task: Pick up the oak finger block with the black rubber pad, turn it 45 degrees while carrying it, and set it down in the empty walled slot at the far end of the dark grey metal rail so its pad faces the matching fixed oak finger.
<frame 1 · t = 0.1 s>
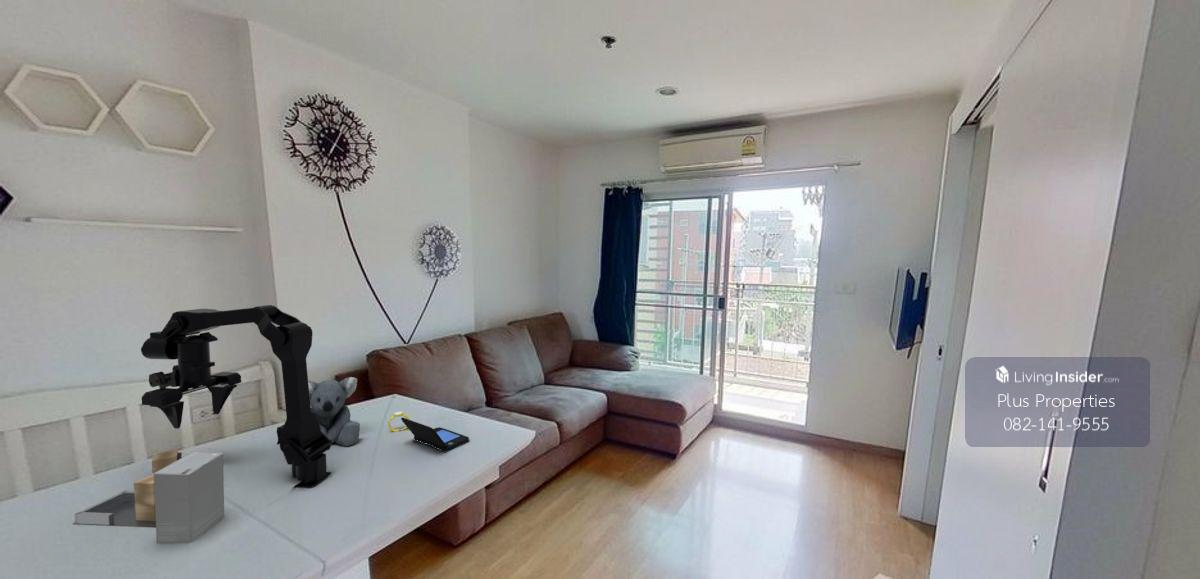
hand: (197, 420, 103), 15 cm above the table, tool pointing down, fingers open, 9 cm apart
game console: (436, 444, 125), on the table
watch: (399, 431, 134), on the table
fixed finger: (158, 513, 87), resting on rail
skincare box: (193, 538, 82), on the table
koala plush: (328, 440, 126), on the table
rail: (141, 519, 87), on the table
finger block: (167, 486, 99), on the table
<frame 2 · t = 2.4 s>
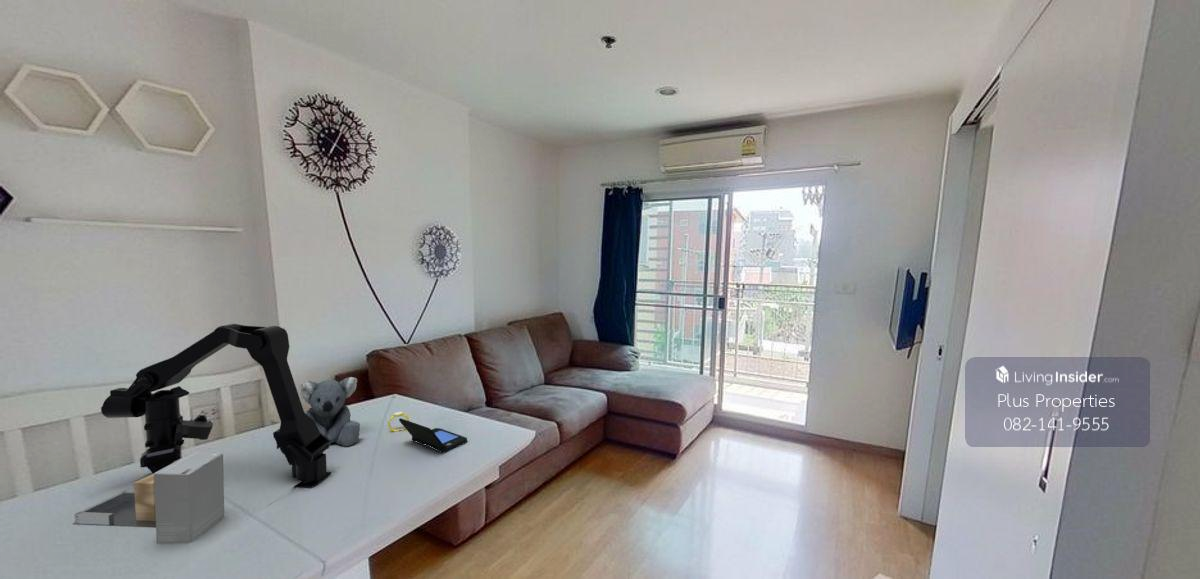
hand: (166, 478, 99), 2 cm above the table, tool pointing down, fingers closed on finger block, 5 cm apart
finger block: (167, 486, 99), on the table, touching gripper
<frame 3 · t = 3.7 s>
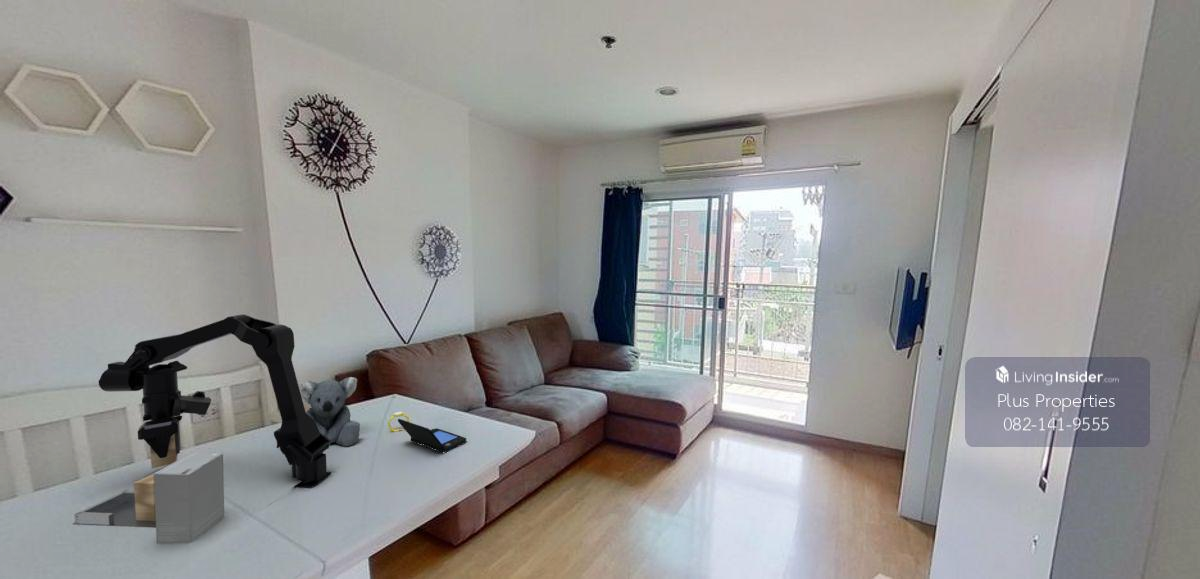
hand: (164, 453, 99), 8 cm above the table, tool pointing down, fingers closed on finger block, 5 cm apart
finger block: (165, 461, 99), point 6 cm above the table, touching gripper
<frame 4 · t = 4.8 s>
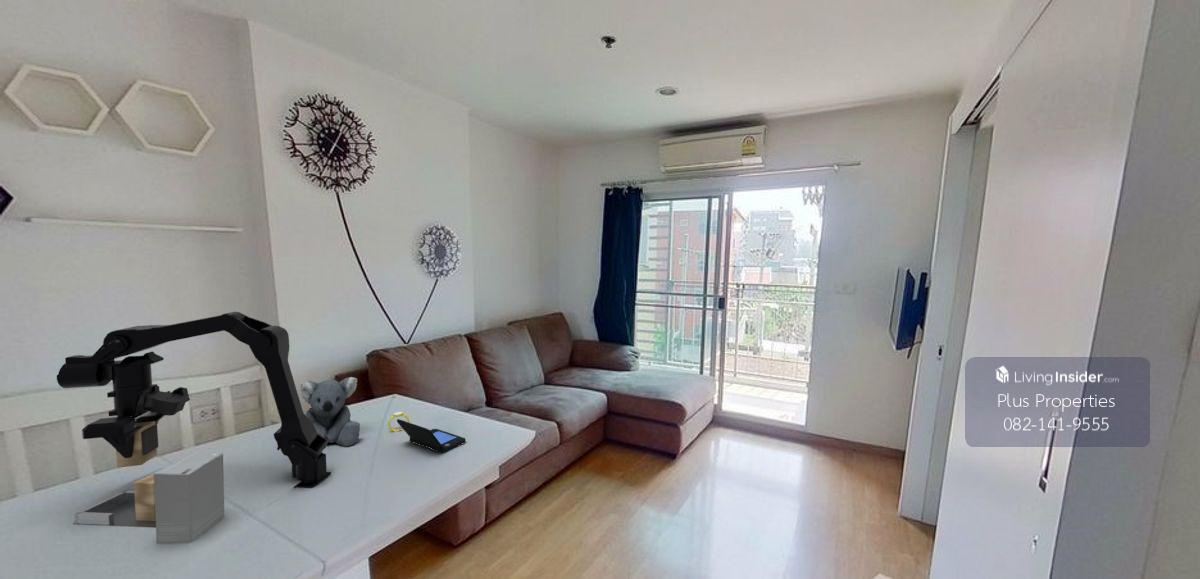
hand: (137, 452, 91), 12 cm above the table, tool pointing down, fingers closed on finger block, 5 cm apart
finger block: (137, 461, 92), point 10 cm above the table, touching gripper
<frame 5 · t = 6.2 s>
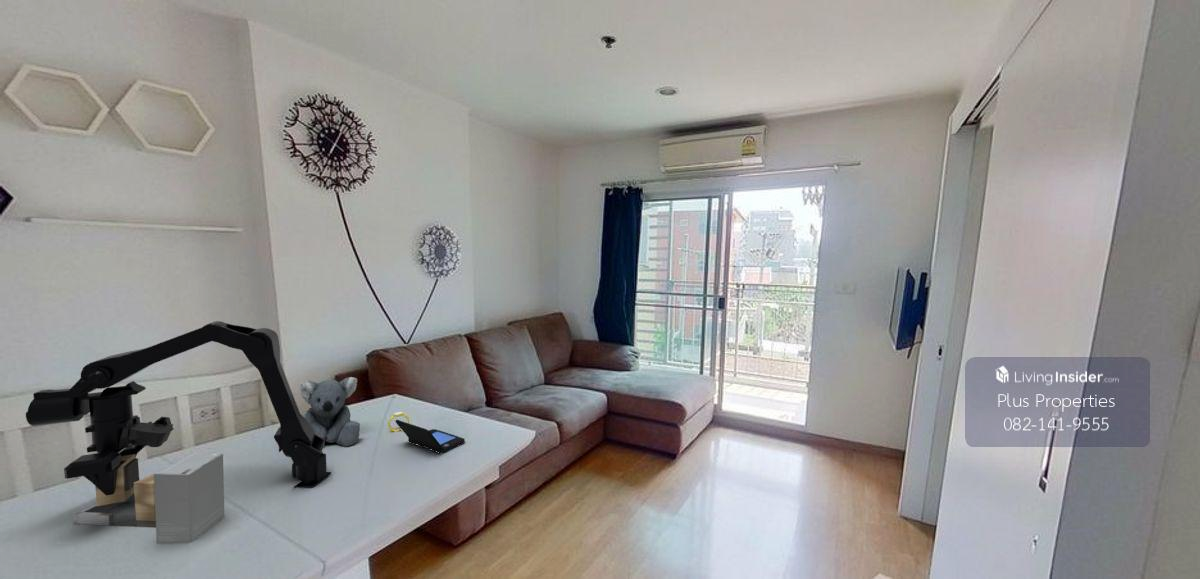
hand: (117, 488, 87), 7 cm above the table, tool pointing down, fingers closed on finger block, 5 cm apart
finger block: (117, 497, 87), point 5 cm above the table, touching gripper
when the fingers open (5 cm above the table, at t = 7.3 s): finger block drops 1 cm, resting on rail.
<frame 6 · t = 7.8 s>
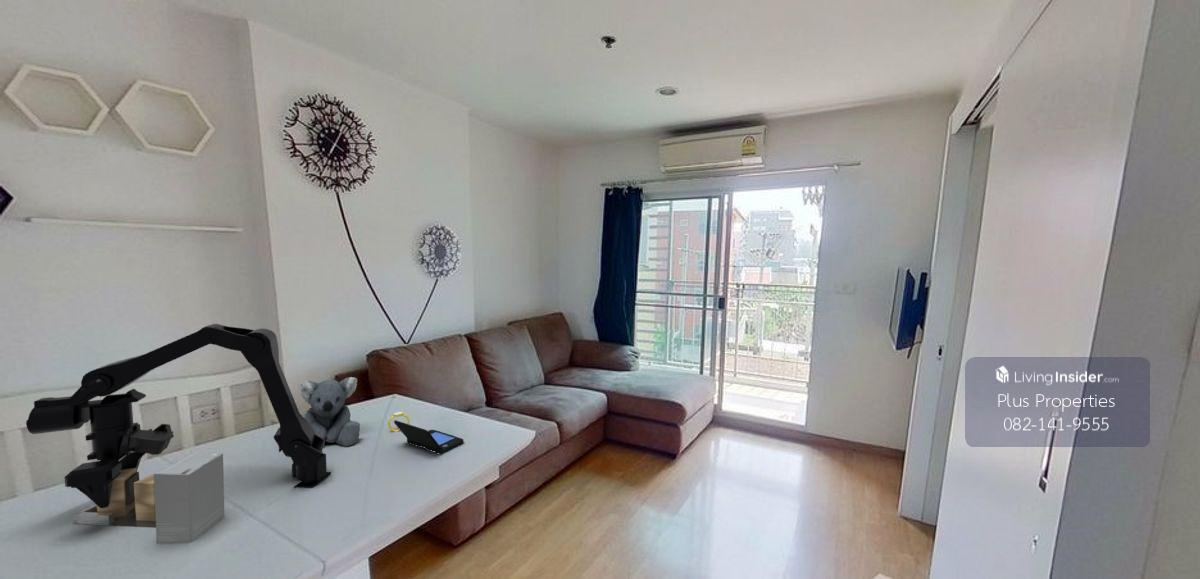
hand: (117, 495, 87), 5 cm above the table, tool pointing down, fingers open, 9 cm apart
finger block: (118, 511, 87), point 1 cm above the table, touching rail
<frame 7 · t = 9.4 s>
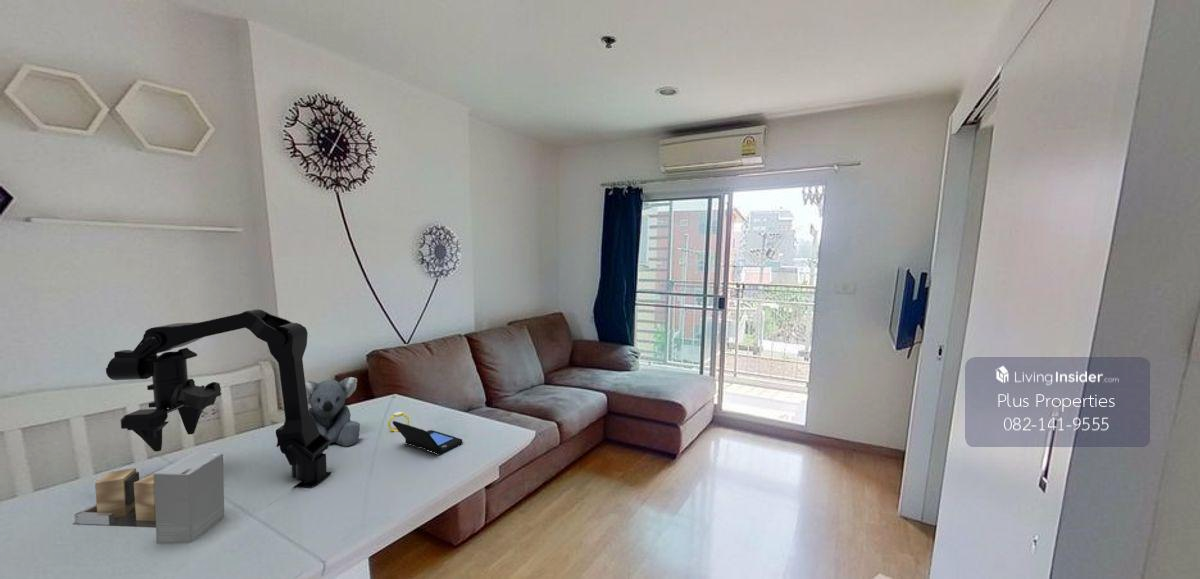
hand: (175, 442, 97), 12 cm above the table, tool pointing down, fingers open, 9 cm apart
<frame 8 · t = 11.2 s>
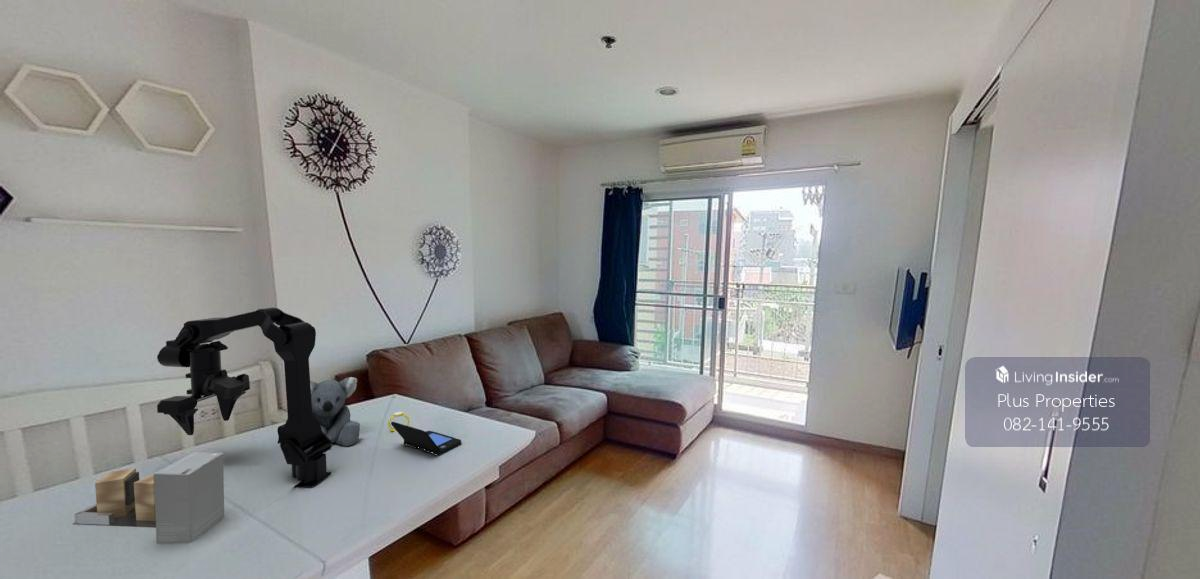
hand: (209, 427, 105), 12 cm above the table, tool pointing down, fingers open, 9 cm apart
at the end: finger block 0.1 cm from the target spot on the rail, point 1.5 cm above the rail's base; finger block tilted 0°; the gripper is holding nothing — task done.
